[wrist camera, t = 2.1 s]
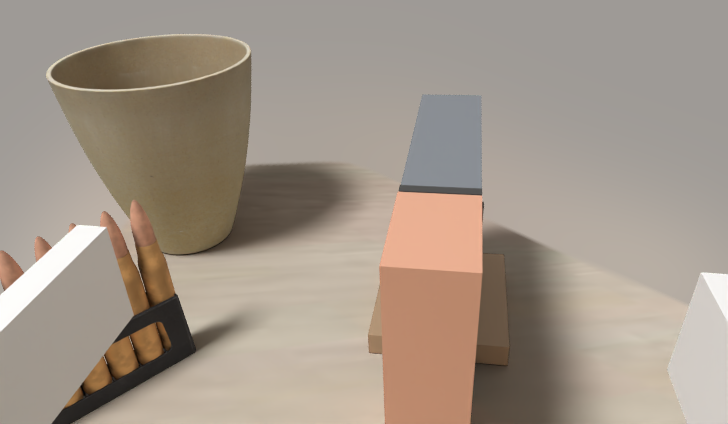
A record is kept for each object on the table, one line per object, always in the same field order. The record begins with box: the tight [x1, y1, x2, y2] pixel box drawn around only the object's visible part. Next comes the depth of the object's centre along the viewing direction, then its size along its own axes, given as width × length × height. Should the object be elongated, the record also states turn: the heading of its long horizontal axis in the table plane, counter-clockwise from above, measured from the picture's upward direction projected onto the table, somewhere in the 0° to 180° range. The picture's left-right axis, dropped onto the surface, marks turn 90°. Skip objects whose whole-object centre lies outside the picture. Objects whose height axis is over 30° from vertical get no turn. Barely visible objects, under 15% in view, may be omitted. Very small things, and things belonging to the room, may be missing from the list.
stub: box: [379, 192, 482, 424], centre depth 28 cm, size 6×4×14 cm, turn 170°
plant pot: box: [46, 34, 251, 254], centre depth 48 cm, size 15×15×16 cm
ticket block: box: [368, 95, 510, 366], centre depth 37 cm, size 14×9×14 cm, turn 170°
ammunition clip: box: [0, 200, 196, 424], centre depth 34 cm, size 11×2×12 cm, turn 132°
